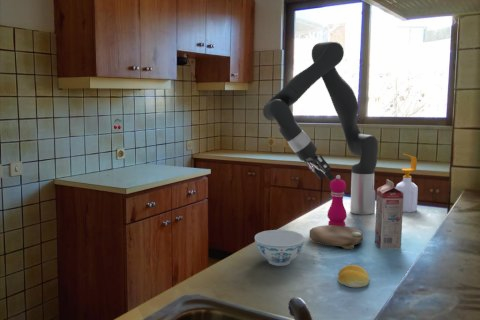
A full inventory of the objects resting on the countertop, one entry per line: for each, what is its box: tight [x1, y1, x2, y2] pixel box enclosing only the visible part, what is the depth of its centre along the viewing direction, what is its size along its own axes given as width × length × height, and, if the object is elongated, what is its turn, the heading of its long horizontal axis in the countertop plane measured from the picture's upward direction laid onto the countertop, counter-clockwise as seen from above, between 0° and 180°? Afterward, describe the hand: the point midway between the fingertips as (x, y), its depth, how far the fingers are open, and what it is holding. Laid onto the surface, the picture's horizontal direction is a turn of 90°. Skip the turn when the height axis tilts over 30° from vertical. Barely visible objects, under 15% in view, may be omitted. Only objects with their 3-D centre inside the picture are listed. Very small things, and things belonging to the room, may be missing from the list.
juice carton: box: [374, 178, 404, 250], centre depth 151 cm, size 7×7×22 cm
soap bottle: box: [395, 153, 419, 213], centre depth 196 cm, size 9×9×25 cm
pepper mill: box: [327, 174, 348, 226], centre depth 173 cm, size 7×7×20 cm
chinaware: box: [254, 229, 306, 267], centre depth 138 cm, size 15×15×8 cm
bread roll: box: [337, 264, 371, 289], centre depth 124 cm, size 8×9×4 cm
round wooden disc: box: [308, 225, 364, 250], centre depth 157 cm, size 18×18×4 cm
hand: (327, 178), depth 171 cm, fingers open, 8 cm apart
